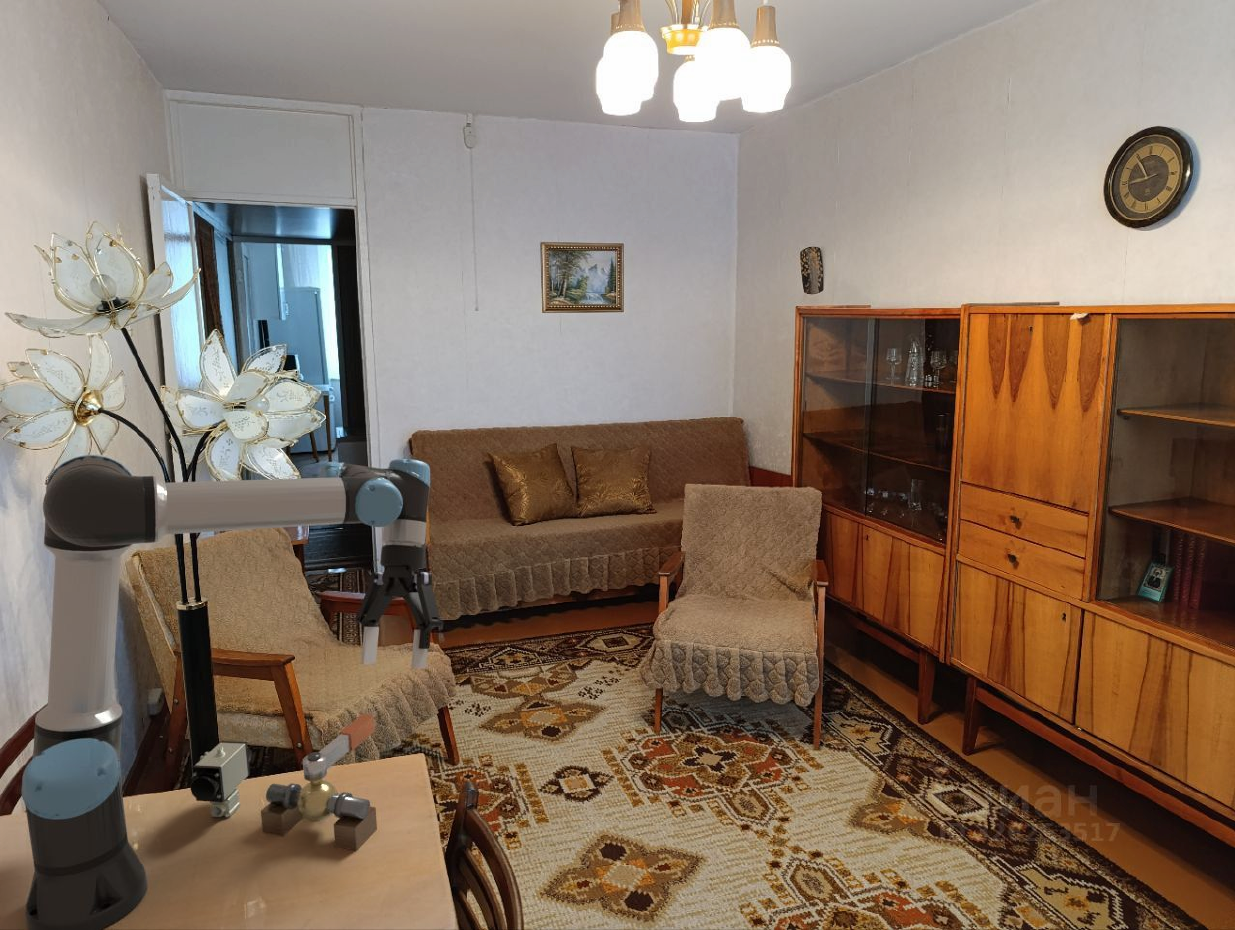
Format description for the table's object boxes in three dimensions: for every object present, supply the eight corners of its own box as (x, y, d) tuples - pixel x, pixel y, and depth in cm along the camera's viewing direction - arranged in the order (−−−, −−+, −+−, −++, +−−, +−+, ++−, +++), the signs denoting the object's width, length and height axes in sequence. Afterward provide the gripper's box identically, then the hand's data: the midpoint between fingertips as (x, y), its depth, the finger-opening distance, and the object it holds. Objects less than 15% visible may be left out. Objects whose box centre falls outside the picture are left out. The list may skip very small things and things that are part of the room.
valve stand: (261, 833, 142) (256, 779, 140) (287, 811, 148) (282, 759, 146) (355, 851, 137) (351, 795, 135) (378, 828, 143) (374, 774, 141)
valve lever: (318, 783, 139) (316, 762, 138) (299, 780, 140) (297, 759, 139) (377, 732, 155) (376, 712, 155) (360, 729, 156) (359, 710, 156)
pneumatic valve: (256, 793, 154) (250, 732, 152) (220, 832, 142) (213, 766, 140) (227, 792, 154) (221, 730, 152) (189, 830, 143) (182, 765, 141)
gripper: (467, 546, 149) (457, 670, 145) (376, 548, 164) (365, 661, 160) (434, 542, 143) (424, 671, 139) (343, 544, 158) (331, 661, 154)
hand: (392, 666), depth 149 cm, fingers open, 13 cm apart
